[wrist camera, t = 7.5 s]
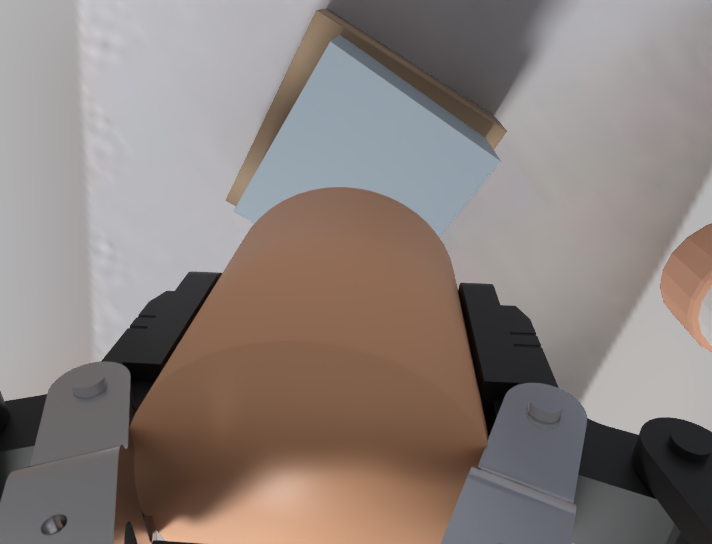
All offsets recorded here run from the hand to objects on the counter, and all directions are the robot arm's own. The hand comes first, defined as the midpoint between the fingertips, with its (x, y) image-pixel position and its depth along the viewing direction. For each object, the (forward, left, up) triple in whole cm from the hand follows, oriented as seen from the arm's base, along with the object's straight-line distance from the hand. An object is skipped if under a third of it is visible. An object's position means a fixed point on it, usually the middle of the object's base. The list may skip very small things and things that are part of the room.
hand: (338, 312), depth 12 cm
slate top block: (0, 0, -14) cm, 14 cm away
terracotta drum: (0, 0, -1) cm, 1 cm away
